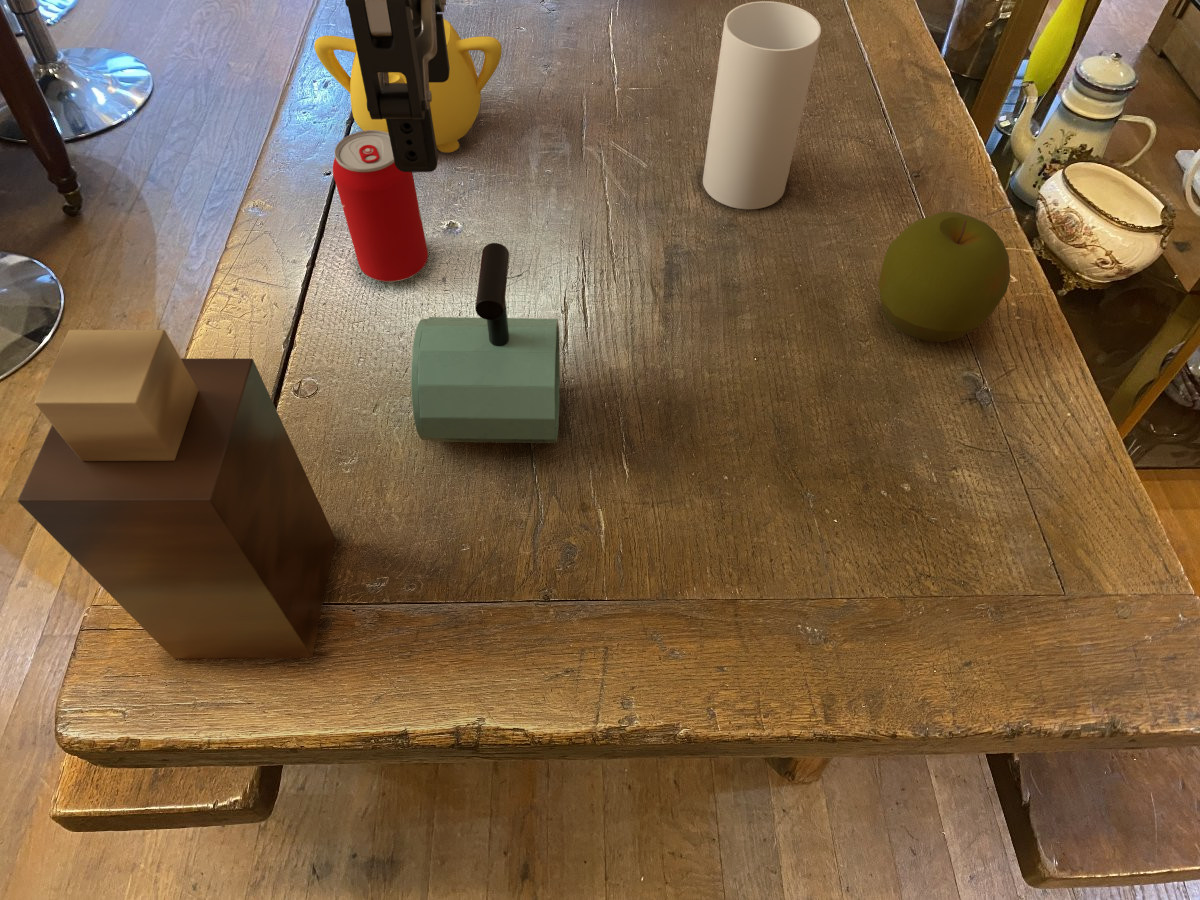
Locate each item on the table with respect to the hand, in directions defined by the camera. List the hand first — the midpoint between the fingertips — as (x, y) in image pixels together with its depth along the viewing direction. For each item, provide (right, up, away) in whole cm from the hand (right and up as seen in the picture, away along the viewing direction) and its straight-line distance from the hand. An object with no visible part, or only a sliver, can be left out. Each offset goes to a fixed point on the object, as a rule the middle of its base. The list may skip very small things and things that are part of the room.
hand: (425, 121), depth 48 cm
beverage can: (-9, -2, +30) cm, 31 cm away
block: (-13, -17, -5) cm, 22 cm away
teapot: (-9, +14, +41) cm, 44 cm away
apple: (+38, -7, +27) cm, 47 cm away
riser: (-13, -28, +10) cm, 33 cm away
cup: (+24, +8, +38) cm, 45 cm away
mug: (-3, -11, +13) cm, 18 cm away
